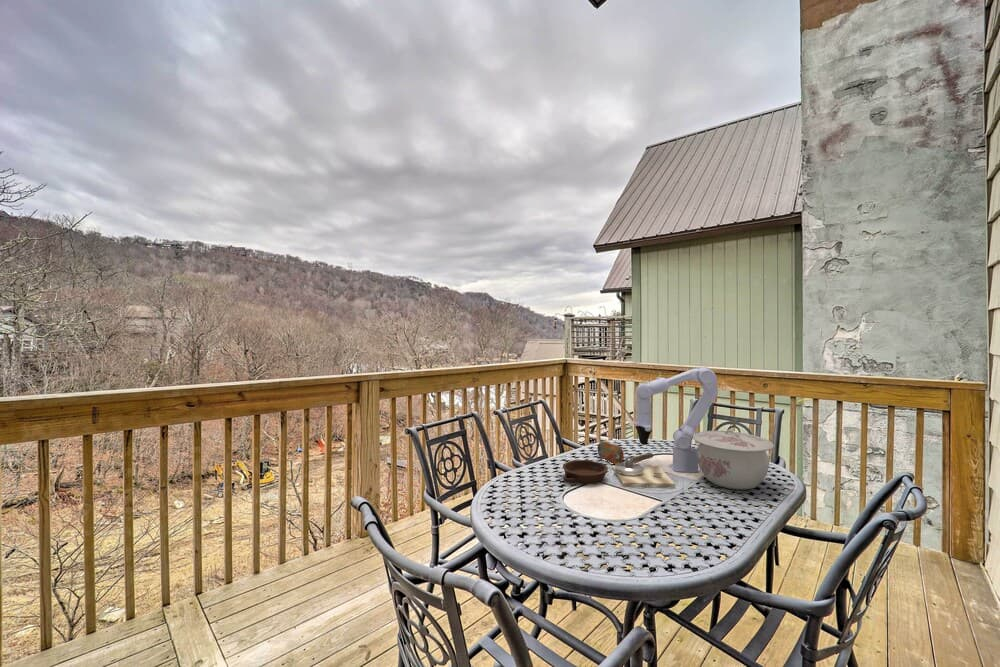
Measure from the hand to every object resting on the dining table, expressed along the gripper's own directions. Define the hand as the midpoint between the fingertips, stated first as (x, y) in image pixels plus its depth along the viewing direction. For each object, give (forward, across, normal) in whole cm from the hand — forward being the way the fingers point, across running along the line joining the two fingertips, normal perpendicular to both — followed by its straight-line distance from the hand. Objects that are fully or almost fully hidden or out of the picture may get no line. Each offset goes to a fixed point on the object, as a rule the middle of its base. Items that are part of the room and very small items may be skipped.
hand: (643, 443), depth 186 cm
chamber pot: (+10, +19, +28) cm, 35 cm away
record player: (+9, +15, -4) cm, 18 cm away
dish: (+10, +16, -27) cm, 33 cm away
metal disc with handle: (+8, +10, -6) cm, 14 cm away
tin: (+10, -4, -13) cm, 17 cm away
